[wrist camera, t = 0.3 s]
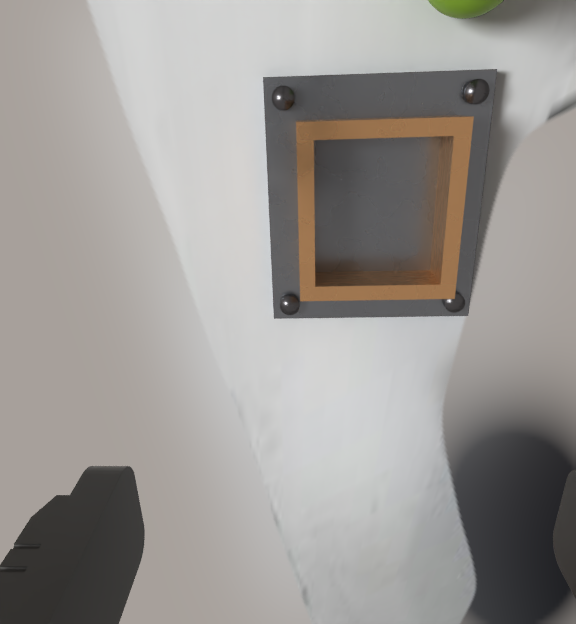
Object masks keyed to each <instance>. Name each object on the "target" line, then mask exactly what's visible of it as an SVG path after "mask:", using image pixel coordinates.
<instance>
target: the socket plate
mask: <svg viewBox="0 0 576 624" xmlns="http://www.w3.org/2000/svg"><path fill="white" fill-rule="evenodd" d="M496 74H497V69H489V70H461V71H433V72H404V73H376V74H348V75H320V76H291V77H263V84H264V106H265V128H266V150H267V173H268V195H269V217H270V239H271V261H272V284H273V306H274V319H275V318H345V317H415V316H468V313H469V304H470V296H471V287H472V279H473V270H474V262H475V253H476V244H477V236H478V227H479V219H480V210H481V202H482V193H483V185H484V176H485V168H486V159H487V151H488V142H489V134H490V125H491V117H492V108H493V100H494V91H495V83H496Z"/></svg>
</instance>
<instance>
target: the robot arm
mask: <svg viewBox="0 0 576 624" xmlns="http://www.w3.org/2000/svg"><path fill="white" fill-rule="evenodd" d="M553 546H554V552H555V556H556V560H557V563H558V565H559V568H560V570H561V571H562V574H563V576H564V577H565V579H566V581H567V583H568V585H569V587H570V589H571V590H572V592H573V594H574V596H575V598H576V470H572V471H571V472H570V473H569V475H568V477H567V480H566V484H565V488H564V492H563V496H562V500H561V504H560V508H559V512H558V516H557V520H556V524H555V527H554V532H553ZM143 548H144V523H143V518H142V513H141V507H140V502H139V496H138V491H137V486H136V480H135V475H134V472H133V470H132V468H131V467H128V466H90V467H88V468H87V469H86V470H85V471H84V472H83V474H82V476H81V477H80V479H79V481H78V483H77V484H76V486H75V488H74V489H73V491H72V493H71V495H57V496H55V497H54V498H53V499H52V500H51V501H50V502H48V503H47V504H46V505H45V506H44V507H43V508H42V509H40V510H39V511H38V512H37V513H36V514H35V515H33V516H32V517H31V519H30V520H29V522H28V523H27V525H26V526H25V528H24V529H23V531H22V532H21V534H20V535H19V537H18V539H17V540H16V542H15V543H14V548H13V549H11V550H10V551H9V553H8V554H7V555H6V557H5V559H4V560H3V562H2V563H1V565H0V624H119V621H120V618H121V616H122V613H123V610H124V607H125V604H126V601H127V599H128V596H129V593H130V590H131V587H132V585H133V582H134V579H135V576H136V573H137V570H138V568H139V564H140V561H141V558H142V553H143Z"/></svg>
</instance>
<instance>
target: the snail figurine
mask: <svg viewBox="0 0 576 624" xmlns="http://www.w3.org/2000/svg"><path fill="white" fill-rule="evenodd" d="M428 1H429V2H430V4H431V5H432V6H433V7H434V8H435V9H436V10H438V11H439V12H441V13H442V14H444V15H447V16H449V17H453V18H460V19H466V18H473V17H477V16H480V15H483V14H485V13H487V12H489V11H491V10H492V9H494V8H495V7H497V6H498V5H499V4H500V3H502V2H503V1H504V0H428Z"/></svg>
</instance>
